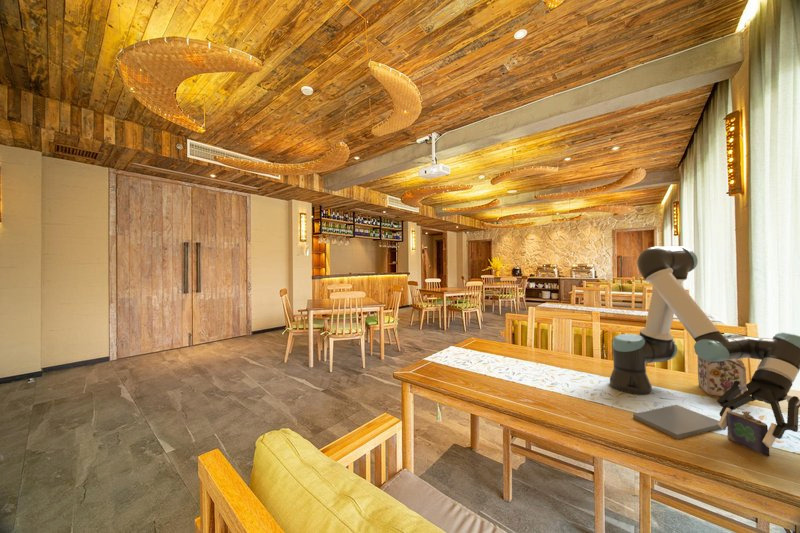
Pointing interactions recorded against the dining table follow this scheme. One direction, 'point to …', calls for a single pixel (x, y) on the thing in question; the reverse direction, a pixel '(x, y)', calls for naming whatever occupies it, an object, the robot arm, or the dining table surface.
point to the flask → (747, 431)
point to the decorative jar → (720, 375)
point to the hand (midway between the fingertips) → (742, 435)
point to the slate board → (677, 421)
